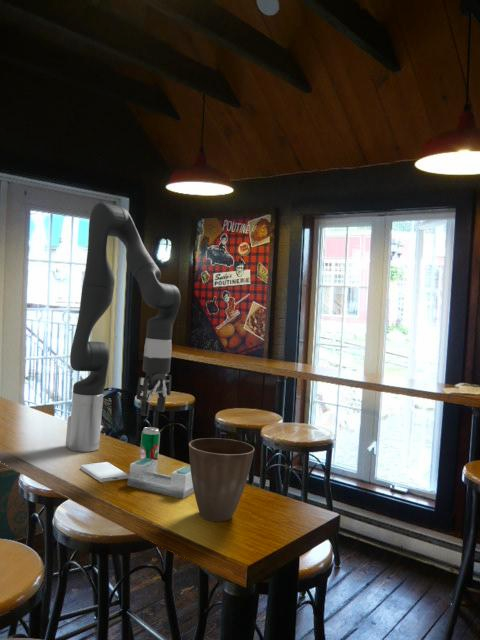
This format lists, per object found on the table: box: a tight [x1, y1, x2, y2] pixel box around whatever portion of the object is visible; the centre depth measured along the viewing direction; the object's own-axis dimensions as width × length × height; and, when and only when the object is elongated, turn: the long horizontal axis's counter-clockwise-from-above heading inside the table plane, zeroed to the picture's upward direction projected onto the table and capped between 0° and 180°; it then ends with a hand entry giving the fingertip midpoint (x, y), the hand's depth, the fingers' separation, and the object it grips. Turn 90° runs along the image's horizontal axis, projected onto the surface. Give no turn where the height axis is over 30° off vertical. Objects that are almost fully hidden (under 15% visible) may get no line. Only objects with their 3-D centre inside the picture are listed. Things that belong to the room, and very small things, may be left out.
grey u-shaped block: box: [127, 458, 194, 500], centre depth 140 cm, size 16×8×6 cm, turn 68°
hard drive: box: [80, 461, 129, 483], centre depth 147 cm, size 2×8×12 cm
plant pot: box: [188, 437, 255, 522], centre depth 124 cm, size 15×15×16 cm
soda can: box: [138, 426, 161, 461], centre depth 152 cm, size 5×5×12 cm
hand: (152, 413), depth 152 cm, fingers open, 8 cm apart
